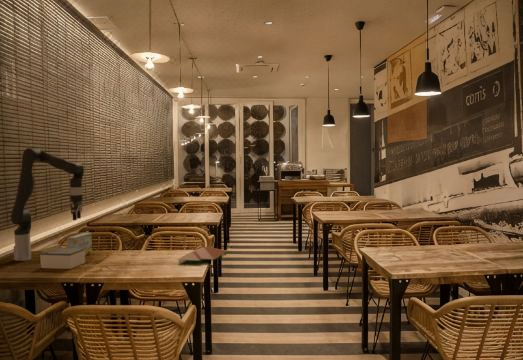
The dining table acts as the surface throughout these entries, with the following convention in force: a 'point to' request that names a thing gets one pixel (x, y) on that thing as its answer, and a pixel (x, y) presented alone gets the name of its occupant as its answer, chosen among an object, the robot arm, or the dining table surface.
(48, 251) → the mailer lid
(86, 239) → the snack box
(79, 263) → the box
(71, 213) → the robot arm
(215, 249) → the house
